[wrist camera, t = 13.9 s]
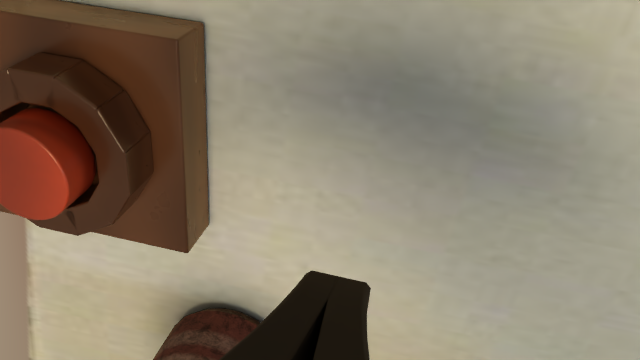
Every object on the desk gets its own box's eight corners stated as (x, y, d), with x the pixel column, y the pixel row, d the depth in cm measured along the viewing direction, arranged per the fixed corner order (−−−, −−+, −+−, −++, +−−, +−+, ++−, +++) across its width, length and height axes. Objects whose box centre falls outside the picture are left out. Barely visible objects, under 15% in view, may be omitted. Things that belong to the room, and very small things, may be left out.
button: (90, 117, 21) (59, 138, 20) (102, 204, 23) (74, 230, 21) (-2, 99, 22) (-38, 119, 20) (17, 185, 23) (-16, 210, 22)
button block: (204, 22, 22) (152, 57, 19) (209, 225, 27) (168, 282, 23) (-12, -11, 24) (-96, 15, 20) (27, 186, 28) (-36, 234, 25)
